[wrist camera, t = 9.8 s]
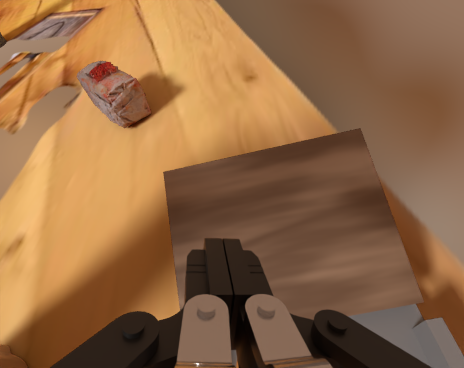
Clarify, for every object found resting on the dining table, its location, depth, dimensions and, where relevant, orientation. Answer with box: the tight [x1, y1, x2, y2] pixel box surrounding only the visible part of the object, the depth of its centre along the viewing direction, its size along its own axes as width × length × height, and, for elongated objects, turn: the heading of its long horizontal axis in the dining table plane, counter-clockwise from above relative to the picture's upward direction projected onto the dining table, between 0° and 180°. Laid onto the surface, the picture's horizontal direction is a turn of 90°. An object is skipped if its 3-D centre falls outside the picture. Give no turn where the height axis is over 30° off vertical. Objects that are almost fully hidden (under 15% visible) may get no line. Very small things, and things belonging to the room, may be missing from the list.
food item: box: [77, 61, 151, 128], centre depth 52 cm, size 14×8×10 cm, turn 47°
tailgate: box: [163, 128, 424, 320], centre depth 27 cm, size 2×20×16 cm
